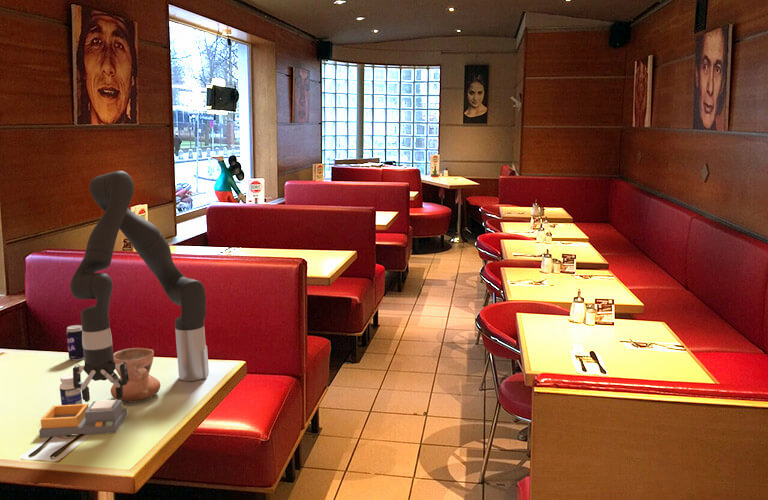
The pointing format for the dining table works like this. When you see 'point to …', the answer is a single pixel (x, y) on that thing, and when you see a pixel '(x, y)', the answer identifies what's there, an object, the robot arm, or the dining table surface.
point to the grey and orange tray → (81, 420)
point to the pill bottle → (69, 391)
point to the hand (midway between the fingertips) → (103, 400)
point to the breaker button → (103, 405)
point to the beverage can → (75, 342)
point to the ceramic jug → (136, 374)
